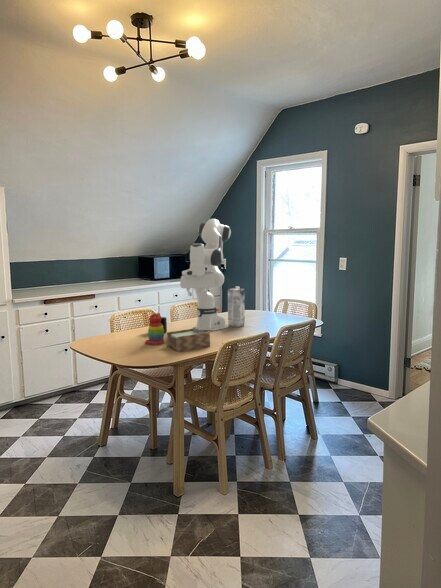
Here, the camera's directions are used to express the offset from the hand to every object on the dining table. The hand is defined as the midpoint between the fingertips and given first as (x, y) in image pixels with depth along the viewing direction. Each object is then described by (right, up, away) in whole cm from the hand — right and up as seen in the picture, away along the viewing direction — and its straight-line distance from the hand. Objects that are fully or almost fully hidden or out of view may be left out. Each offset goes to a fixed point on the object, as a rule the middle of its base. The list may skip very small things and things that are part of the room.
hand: (197, 295), depth 252 cm
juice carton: (+24, -21, +47) cm, 57 cm away
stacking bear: (-25, -28, +3) cm, 38 cm away
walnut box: (-5, -29, -6) cm, 30 cm away
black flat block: (-27, -25, +29) cm, 46 cm away
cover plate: (-5, -23, -7) cm, 25 cm away
